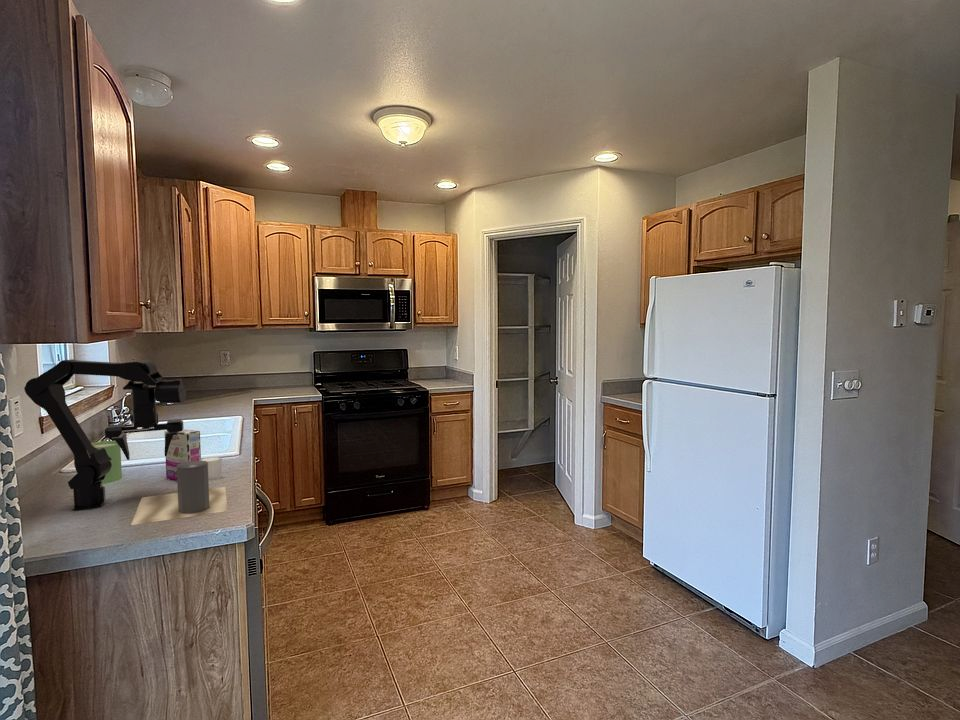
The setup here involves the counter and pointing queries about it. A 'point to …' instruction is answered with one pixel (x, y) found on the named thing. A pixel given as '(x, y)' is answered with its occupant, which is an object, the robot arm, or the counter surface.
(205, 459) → the off-white short cylinder
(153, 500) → the birch board
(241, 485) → the counter surface
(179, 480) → the grey cylinder
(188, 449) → the candy bar box
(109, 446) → the mug
